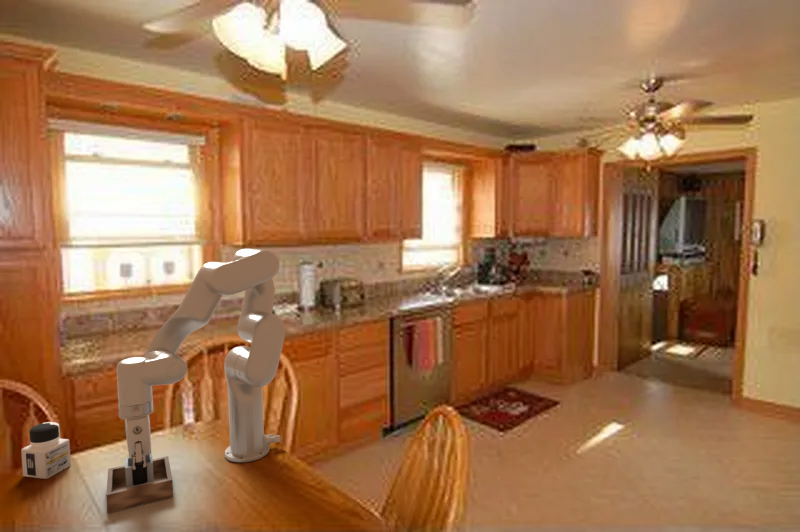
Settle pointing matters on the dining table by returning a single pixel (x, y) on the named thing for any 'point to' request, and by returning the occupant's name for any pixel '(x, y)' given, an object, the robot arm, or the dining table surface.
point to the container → (45, 452)
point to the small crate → (130, 466)
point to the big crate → (138, 487)
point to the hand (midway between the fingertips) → (140, 476)
